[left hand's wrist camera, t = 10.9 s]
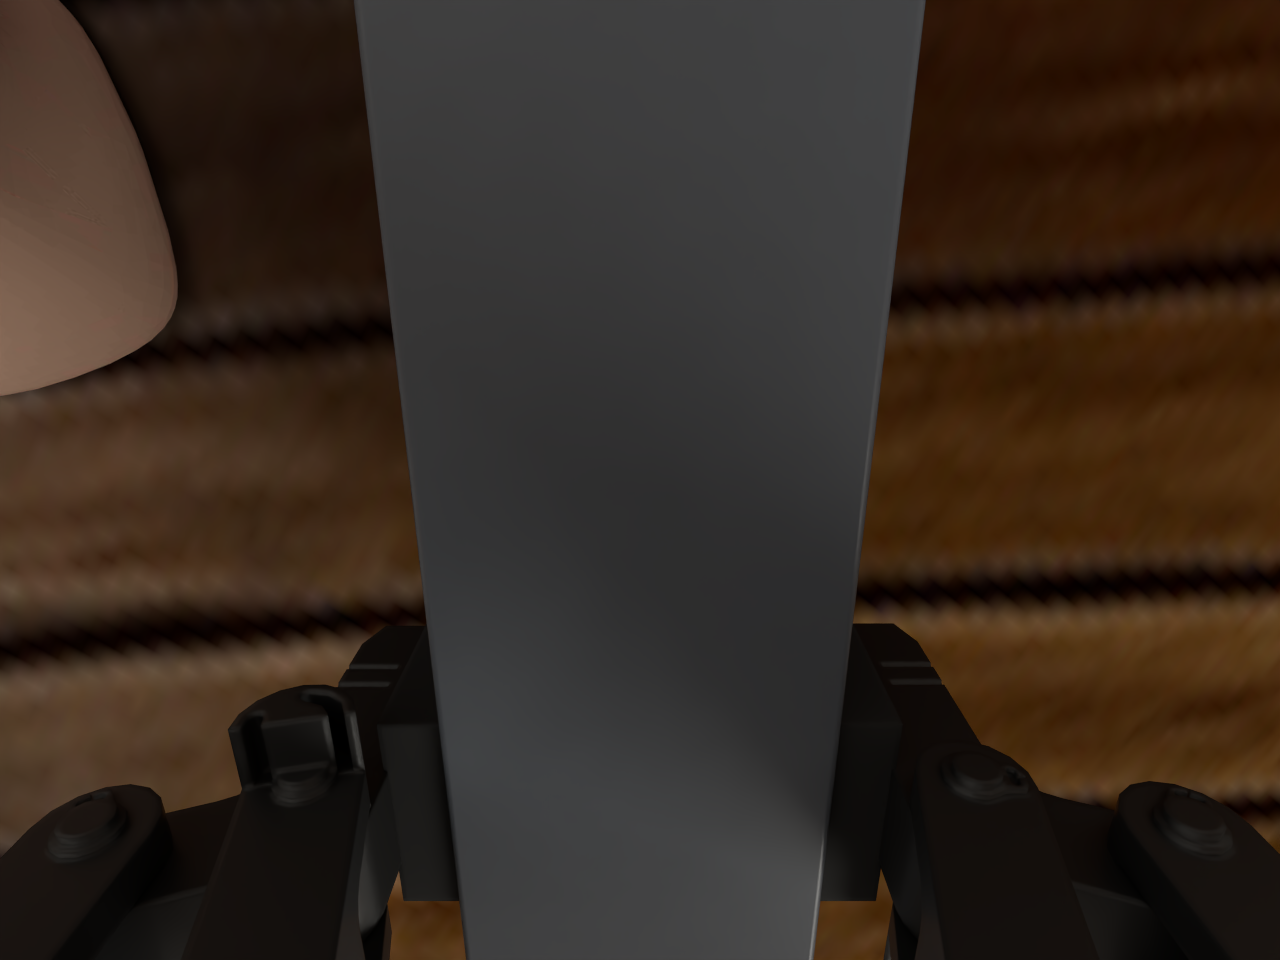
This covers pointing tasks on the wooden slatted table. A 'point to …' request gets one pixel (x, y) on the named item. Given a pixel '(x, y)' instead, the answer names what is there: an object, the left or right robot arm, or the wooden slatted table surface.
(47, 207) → the anatomical model
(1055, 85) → the wooden slatted table surface
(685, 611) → the post
